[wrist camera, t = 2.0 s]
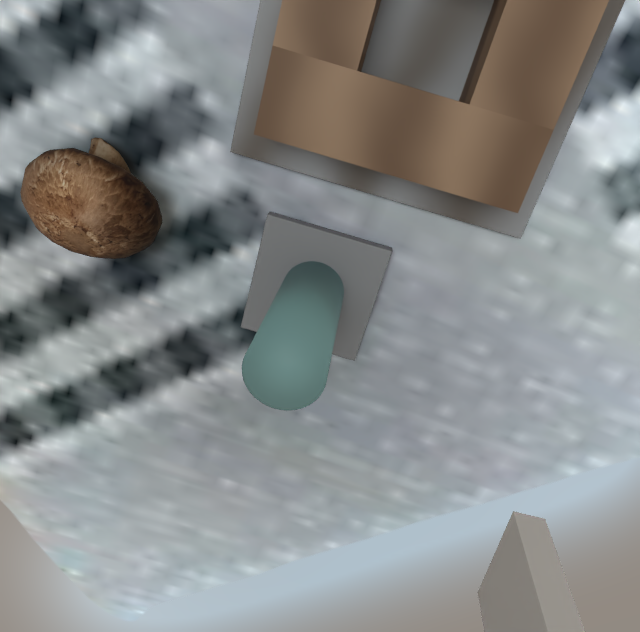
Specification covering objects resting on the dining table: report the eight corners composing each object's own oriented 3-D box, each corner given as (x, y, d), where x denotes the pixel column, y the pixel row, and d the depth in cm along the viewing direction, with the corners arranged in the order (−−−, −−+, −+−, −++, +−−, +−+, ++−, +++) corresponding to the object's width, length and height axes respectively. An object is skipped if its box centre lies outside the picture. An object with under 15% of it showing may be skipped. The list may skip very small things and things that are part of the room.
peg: (276, 309, 37) (234, 396, 27) (290, 253, 35) (251, 323, 25) (334, 326, 37) (314, 420, 27) (351, 271, 35) (337, 349, 25)
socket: (233, 150, 34) (208, 162, 29) (309, -228, 26) (292, -294, 22) (517, 235, 34) (538, 260, 29) (671, -118, 27) (732, -160, 22)
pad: (243, 322, 38) (240, 327, 38) (269, 211, 35) (267, 214, 34) (355, 355, 38) (354, 360, 38) (391, 247, 35) (392, 251, 34)
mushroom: (68, 82, 30) (22, 168, 27) (198, 160, 34) (171, 243, 31) (32, 158, 36) (-8, 236, 33) (147, 218, 40) (120, 291, 37)
